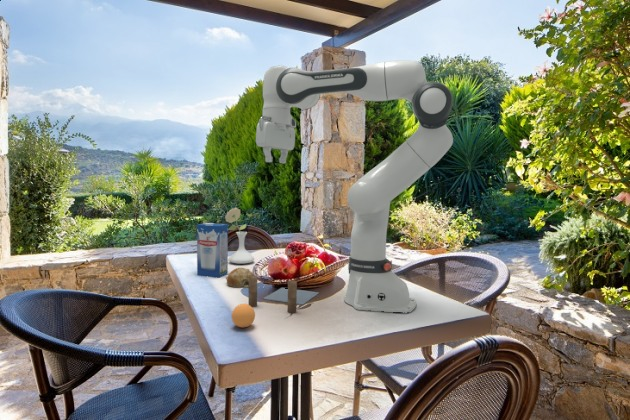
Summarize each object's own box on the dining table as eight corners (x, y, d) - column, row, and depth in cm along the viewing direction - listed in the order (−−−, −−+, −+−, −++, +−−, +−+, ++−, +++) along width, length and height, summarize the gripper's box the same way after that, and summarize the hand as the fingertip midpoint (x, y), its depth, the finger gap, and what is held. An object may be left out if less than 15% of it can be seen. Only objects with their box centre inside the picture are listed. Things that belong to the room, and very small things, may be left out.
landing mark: (319, 293, 138) (319, 292, 138) (302, 304, 125) (302, 304, 125) (282, 288, 143) (282, 287, 143) (262, 299, 130) (262, 298, 130)
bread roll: (235, 299, 142) (242, 280, 139) (218, 282, 147) (224, 263, 144) (256, 293, 150) (262, 275, 147) (238, 277, 155) (245, 259, 152)
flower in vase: (249, 259, 190) (249, 206, 188) (258, 264, 180) (258, 208, 178) (221, 261, 184) (221, 206, 182) (229, 266, 174) (229, 208, 172)
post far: (258, 304, 124) (258, 276, 124) (254, 307, 122) (254, 277, 121) (251, 303, 125) (251, 275, 125) (246, 306, 123) (247, 277, 122)
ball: (259, 324, 108) (259, 302, 108) (247, 332, 103) (247, 309, 102) (239, 321, 110) (239, 299, 110) (227, 328, 105) (227, 306, 104)
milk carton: (197, 275, 159) (196, 224, 157) (206, 271, 164) (205, 222, 163) (219, 277, 156) (219, 226, 154) (227, 274, 161) (227, 224, 160)
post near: (297, 310, 120) (298, 281, 119) (294, 313, 117) (294, 283, 116) (289, 309, 121) (290, 279, 120) (285, 312, 118) (286, 282, 117)
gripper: (269, 114, 119) (268, 161, 121) (298, 122, 138) (297, 163, 139) (250, 115, 122) (250, 161, 123) (281, 123, 141) (281, 163, 142)
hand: (275, 162), depth 131 cm, fingers open, 8 cm apart
